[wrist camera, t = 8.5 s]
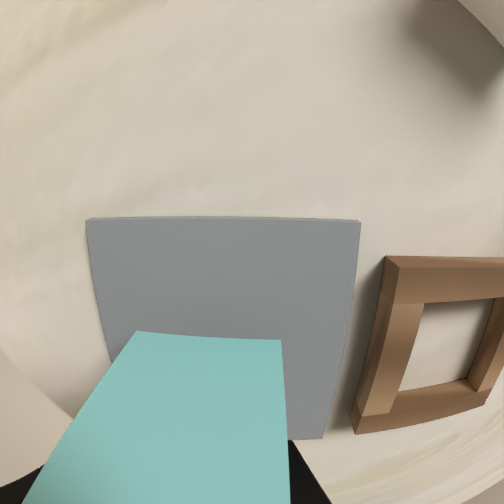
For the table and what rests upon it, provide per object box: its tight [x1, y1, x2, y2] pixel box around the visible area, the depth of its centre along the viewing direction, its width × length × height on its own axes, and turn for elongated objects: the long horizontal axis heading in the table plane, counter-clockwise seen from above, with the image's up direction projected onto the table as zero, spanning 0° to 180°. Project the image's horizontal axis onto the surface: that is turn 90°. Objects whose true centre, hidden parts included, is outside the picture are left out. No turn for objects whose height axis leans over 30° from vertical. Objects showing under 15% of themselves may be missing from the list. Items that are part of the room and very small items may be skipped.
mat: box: [85, 217, 361, 440], centre depth 13 cm, size 12×11×1 cm
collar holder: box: [349, 256, 504, 435], centre depth 12 cm, size 9×9×2 cm
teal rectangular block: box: [22, 331, 290, 504], centre depth 6 cm, size 5×5×8 cm
